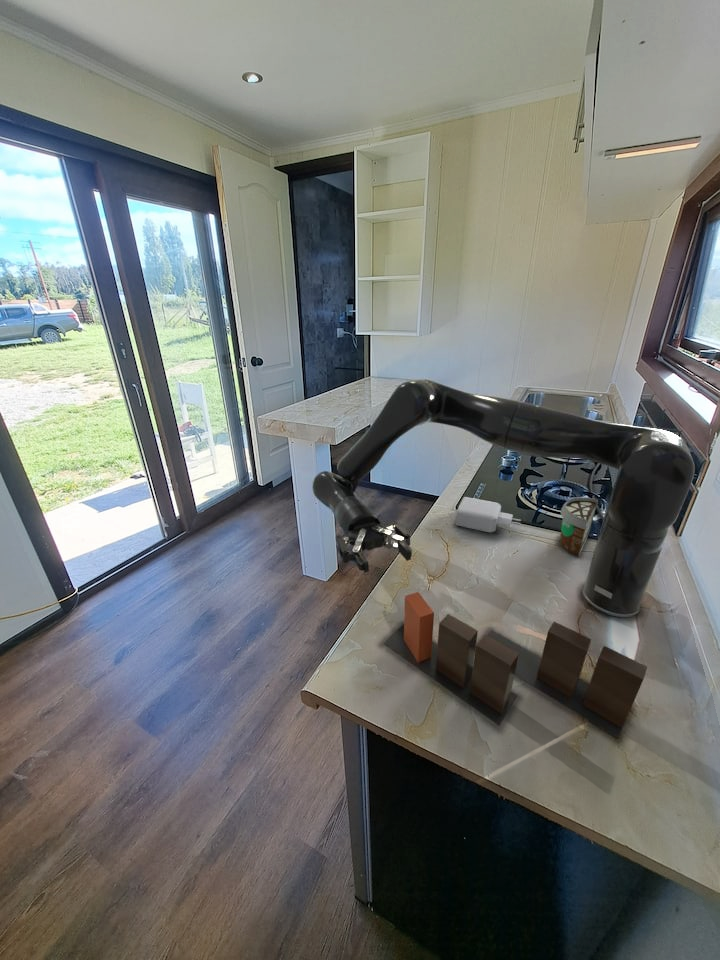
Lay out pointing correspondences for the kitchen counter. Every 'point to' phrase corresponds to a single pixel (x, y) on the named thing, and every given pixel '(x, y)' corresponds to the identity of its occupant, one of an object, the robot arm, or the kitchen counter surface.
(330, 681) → the kitchen counter surface
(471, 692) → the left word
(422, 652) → the orange upright brick
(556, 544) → the kitchen counter surface
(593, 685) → the brown notched block
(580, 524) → the food container
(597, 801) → the kitchen counter surface
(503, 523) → the charger
